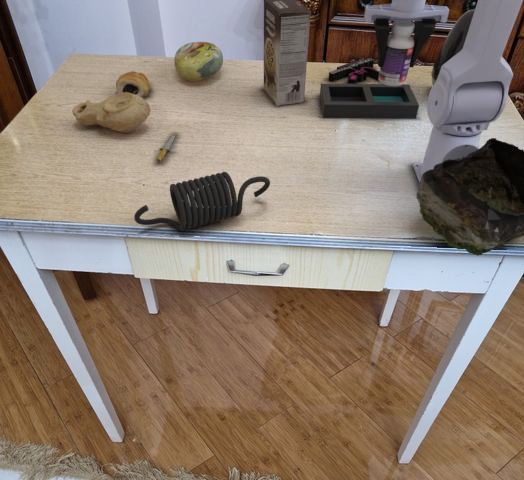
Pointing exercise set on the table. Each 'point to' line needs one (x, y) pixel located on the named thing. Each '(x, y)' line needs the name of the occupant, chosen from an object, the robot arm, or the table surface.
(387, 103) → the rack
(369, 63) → the logo
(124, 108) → the oil lamp
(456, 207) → the rock
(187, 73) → the cell model
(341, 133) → the table surface
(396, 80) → the pill bottle
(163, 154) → the dagger
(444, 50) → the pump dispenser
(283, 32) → the coffee box
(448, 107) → the robot arm
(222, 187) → the coil
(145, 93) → the pastry
